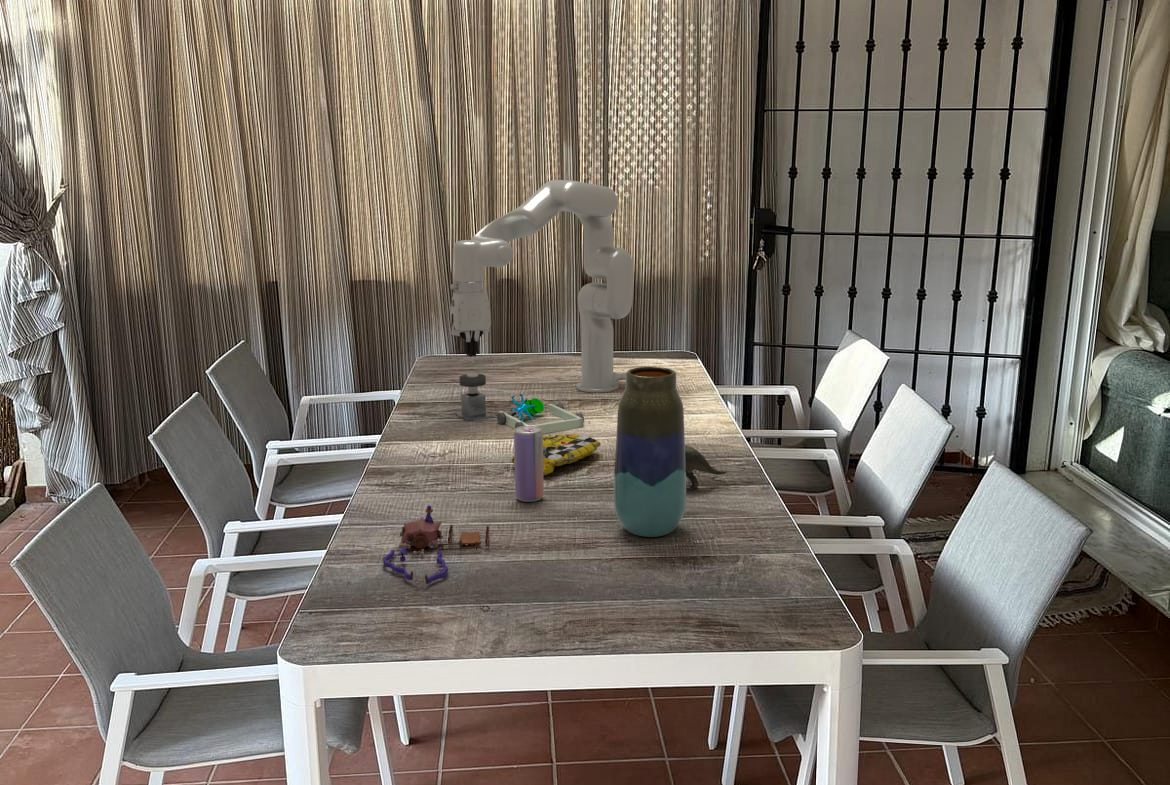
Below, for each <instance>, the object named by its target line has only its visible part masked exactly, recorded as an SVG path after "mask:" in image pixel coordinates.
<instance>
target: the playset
mask: <svg viewBox="0 0 1170 785" xmlns="http://www.w3.org/2000/svg"><path fill="white" fill-rule="evenodd" d="M433 512H434V508H432V506H431V504H428V505H427V507H426V509H425V513H426V515H425V518H423V517H421V518H419V519H418V520H415V521H411V522H408V523H403V526H401V532H400V533H399V537H401V539H400V540H401V543H399V544H398V548H396V549H391V551H390V552H388V554H386V555H385V556H384V557H383V558H382V563H383V567H386V568H390V569H391V571H393V572H395V573H400V574H403V577H404V579H406V580H409V581H412V582H414V583H415V585H420V584H421V583H424V582H425V585H429V584H431V583H432V582H434V581H436V580H439V579H442V578H444V577H446V576H447V575H448V573H449V567H448V566H447V565H446V561H445V559H444V558H443V552H444V551H449V550H457V551H458V550H460V552H461V551H462V550H475V551H477V550H479V549H480V550H481V549H482V546H478V545H481V544H482V541H480V539H481V538H480V536H481V534H480V533H481V532H479V531H476V532H465V531H464V532H461V533H460V537H459V542H453V533H454V524H450V526H449V529H448V537H447V543H443V542H441V543H439V541H438V540H443V538H444V535H442V531H441V530H439V529H440V526H441V525H442V521H439V522H434V519H433V517H432V515H431V513H433ZM485 528H486V530H485V540H484V543H485V547H486V548H489V547H490V545H489V544H490V526H488V524H487V525H486V527H485ZM463 545H465V546H468V545H475V546H473V547H470V546H469V547H463ZM439 546H440V548H438V547H439ZM444 546H459V547H453V548H452V547H451V548H450V547H449V548H448V547H447V548H444ZM412 547H415V548H416V549H420V550H418V551H416V550H414V551H412V554H419V553H420V555H424V554H425V548H426V547H428V548H430V549H436V548H438V550H437V557H436V558H435V559H436V563H437V565H435V567H436V568H437V571H438V572H437V573H435V574H432V575H430V576H428V575H427V574H425V576H424V579H420V580H419V579H417V578H414V572H413V570H411V571H410V574H409V573H408V572H407V570H406V568H405V567H404V566H402V564H398V565H397V566H396V565H395V563H393V562H389V561H390V560H391V559H392V558H393V557H394V556H395V552H399V553H398V554H397V556H400V555H401V556H400V557H399V559H400V560H399V561H400V562H406V556H404V555H409V554H408V552H407V550H409V549H411V548H412ZM439 564H440V565H439Z"/></svg>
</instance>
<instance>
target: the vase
mask: <svg viewBox="0 0 1170 785" xmlns="http://www.w3.org/2000/svg"><path fill="white" fill-rule="evenodd" d="M625 373H626V379H625V389H624V390H623V393H622V396H621V398H620V399H619V402H618V405H617V406H618V408H617V422H616V438H615V456H614V474H613V505H614V512H615V514H616V515H615V516H616V517H617V519H618V521H619V522H620V525H622V527H623V528H624V529H625V530H626V531H627V532H628V533H630V534H632V535H635V536H638V537H645V538H646V537H647V538H655V537H662V536H665V535H668V534H670V533H672V532H673V531H674V530H675V529H676V528H677V527H678V525H679V524H680V523H681V521H682V519H683V517H684V514H685V510H686V504H687V477H686V462H685V445H686V439H685V438H686V437H685V435H686V434H685V413H684V412H685V411H684V402H683V400H682V398H681V395H680V394H679V392H678V389H677V372H676V371H675V370H674V369H671V368H668V367H661V366H660V367H659V366H642V367H641V366H639V367H633V368H631V369H628V370H626V372H625Z"/></svg>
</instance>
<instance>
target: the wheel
mask: <svg viewBox="0 0 1170 785" xmlns="http://www.w3.org/2000/svg"><path fill="white" fill-rule="evenodd" d="M486 380H487V379H486V375H485V374H481V373H476V372H475V373H474V372H471V373H466V374H461V375H460V376H459V386H462V387H466V388H468V393H469V394H476V393H478V392H479V391H478V387H482V386H485V385H486V384H487V382H486Z"/></svg>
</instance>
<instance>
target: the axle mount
mask: <svg viewBox="0 0 1170 785" xmlns="http://www.w3.org/2000/svg"><path fill="white" fill-rule="evenodd" d="M477 392H478V393H476V394H469V392H466V393H465V392H464V393H460V402H461V404H460V405H461V411H458V412H454V415H455V416H456V417H458V418H460V419H462V420H463V421H464V422H470V421H476V420H485V419H491V418H494V415H493V414H492V413H490V412H488V411H487V410H486V409H487V408H486V407H487V406H486V403H487V402H486V394H483V393H482V392H479V391H477Z"/></svg>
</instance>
